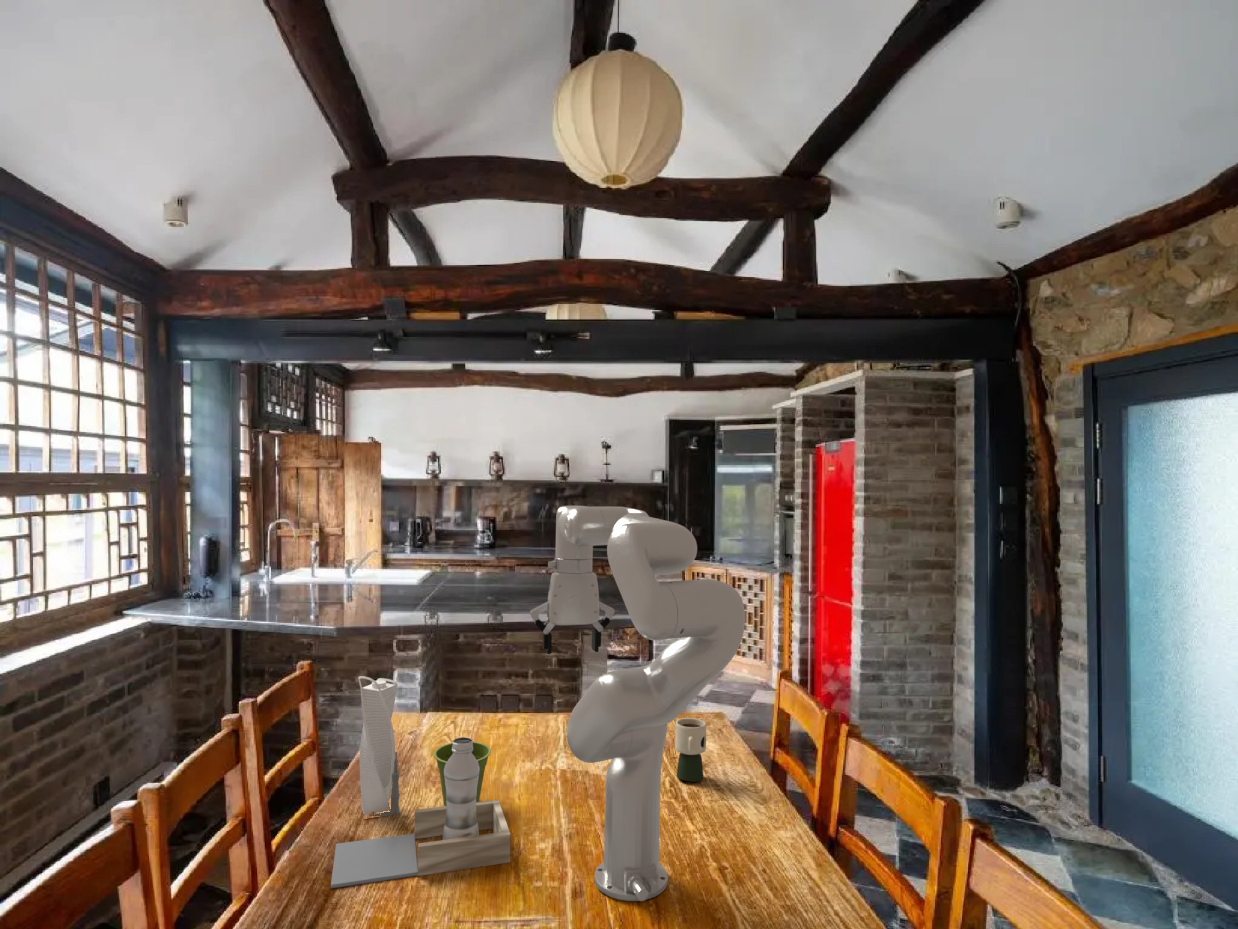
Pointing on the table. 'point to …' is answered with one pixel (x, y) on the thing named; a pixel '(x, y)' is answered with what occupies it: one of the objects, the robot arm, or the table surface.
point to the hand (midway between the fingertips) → (571, 651)
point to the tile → (374, 860)
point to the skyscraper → (378, 749)
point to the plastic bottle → (461, 791)
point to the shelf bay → (461, 841)
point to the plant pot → (445, 753)
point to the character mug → (690, 748)
